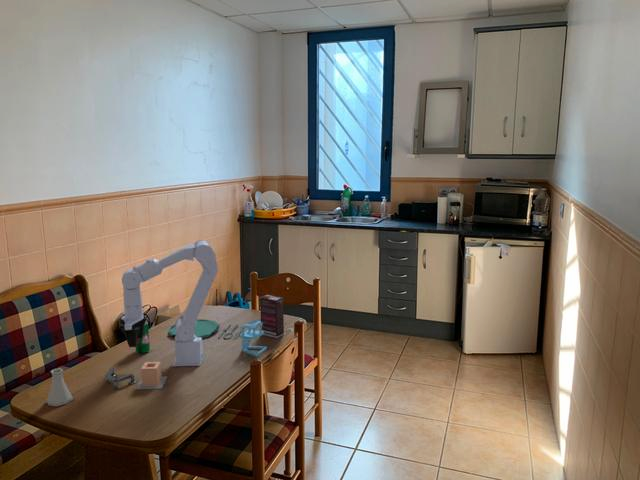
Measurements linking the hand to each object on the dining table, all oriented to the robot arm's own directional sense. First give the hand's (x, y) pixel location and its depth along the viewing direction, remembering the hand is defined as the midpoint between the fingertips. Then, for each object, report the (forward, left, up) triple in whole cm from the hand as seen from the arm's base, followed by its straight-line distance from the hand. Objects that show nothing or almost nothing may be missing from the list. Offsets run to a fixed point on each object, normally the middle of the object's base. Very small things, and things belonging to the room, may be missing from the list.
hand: (135, 342), depth 176 cm
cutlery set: (-19, -33, -10) cm, 39 cm away
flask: (+17, +22, -10) cm, 29 cm away
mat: (-8, +12, -9) cm, 17 cm away
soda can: (+2, -14, -10) cm, 17 cm away
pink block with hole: (-8, +12, -9) cm, 17 cm away
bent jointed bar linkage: (+2, +11, -9) cm, 15 cm away
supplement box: (-46, -28, -10) cm, 55 cm away
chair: (-39, -12, -10) cm, 42 cm away
